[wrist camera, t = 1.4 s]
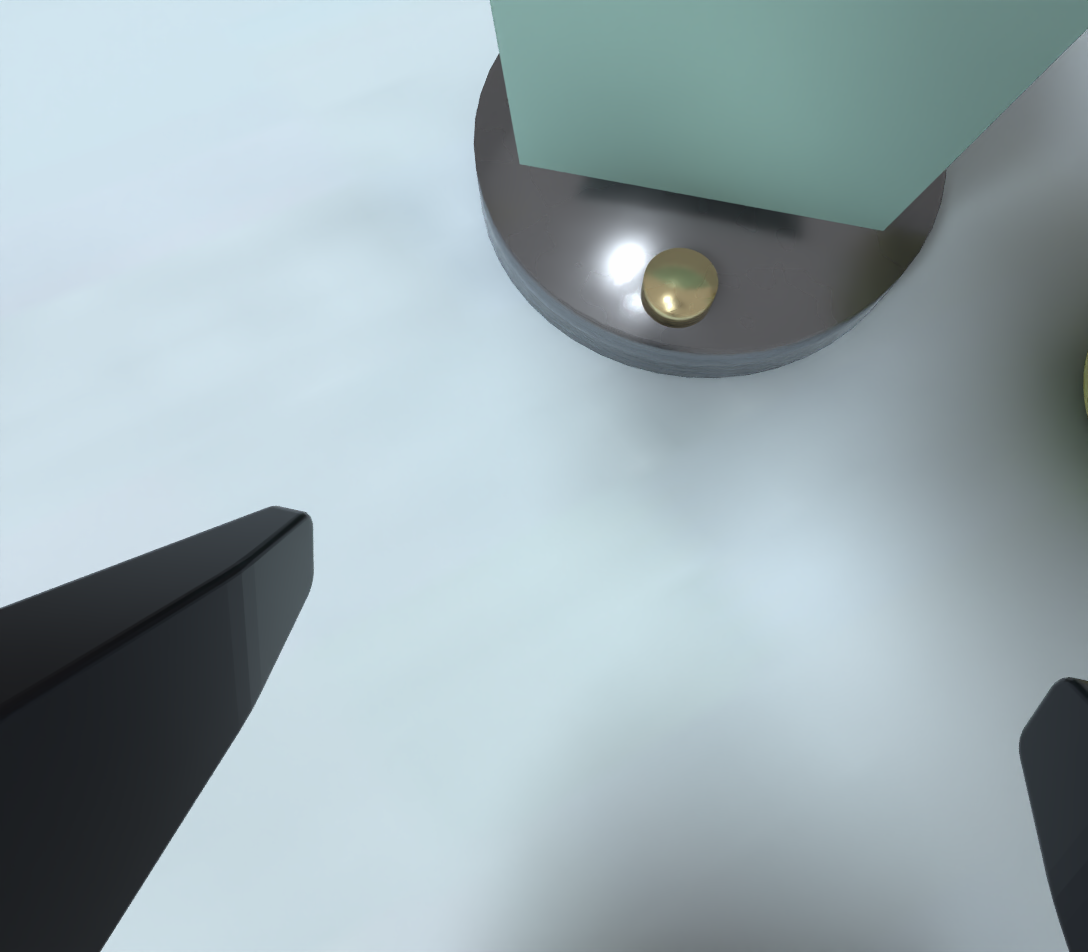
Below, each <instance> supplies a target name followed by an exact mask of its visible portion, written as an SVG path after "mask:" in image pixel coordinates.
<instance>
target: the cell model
mask: <svg viewBox="0 0 1088 952" xmlns="http://www.w3.org/2000/svg"><path fill="white" fill-rule="evenodd" d="M1083 389H1084V401H1085V408H1086V412H1087V417H1088V352H1087V356H1086V361H1085V367H1084V376H1083Z"/></svg>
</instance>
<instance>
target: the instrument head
mask: <svg viewBox="0 0 1088 952" xmlns="http://www.w3.org/2000/svg"><path fill="white" fill-rule="evenodd" d="M490 4H491V10H492V15H493V21H494V26H495V32H496V37H497V42H498V48H499V53H500V59H501V64H502V70H503V75H504V81H505V86H506V92H507V97H508V103H509V108H510V113H511V119H512V124H513V130H514V135H515V141H516V146H517V152H518V157H519V163H520V164H522V165H527V166H533V167H538V168H544V169H549V170H555V171H560V172H566V173H571V174H576V175H582V176H587V177H593V178H598V179H604V180H609V181H615V182H620V183H625V184H631V185H636V186H642V187H647V188H653V189H658V190H664V191H669V192H674V193H680V194H685V195H691V196H696V197H702V198H707V199H713V200H718V201H723V202H729V203H734V204H740V205H745V206H751V207H756V208H762V209H767V210H772V211H778V212H783V213H789V214H794V215H800V216H805V217H810V218H816V219H821V220H827V221H832V222H838V223H843V224H849V225H854V226H859V227H865V228H870V229H876V230H881V231H884V230H885V229H886V228H887V227H888V226H889V225H890V224H891V223H892V222H893V221H894V220H895V219H896V218H897V217H898V216H899V215H900V214H901V213H902V212H903V211H904V210H905V209H906V208H907V207H908V206H909V205H910V204H911V203H912V202H913V201H914V200H915V199H916V198H917V197H918V196H919V195H920V194H921V193H922V192H923V191H924V190H925V189H926V188H927V187H928V186H929V185H930V184H931V183H932V182H933V181H934V180H935V179H936V178H937V177H938V176H939V175H940V174H941V173H942V172H943V171H944V170H945V169H946V168H947V167H948V166H949V165H950V164H951V163H952V162H953V161H954V160H955V159H956V158H957V157H958V156H959V155H960V154H961V153H962V152H963V151H964V150H965V149H966V148H967V147H968V146H969V145H970V144H971V143H972V142H973V141H975V140H976V139H977V138H978V137H979V136H980V135H981V134H982V133H983V132H984V131H985V130H986V129H987V128H988V127H989V126H990V125H991V124H992V123H993V122H994V121H995V120H996V119H997V118H998V117H999V116H1000V115H1001V114H1002V113H1003V112H1004V111H1005V110H1006V109H1007V108H1008V107H1009V106H1010V105H1011V104H1012V103H1013V102H1014V101H1015V100H1016V99H1017V98H1018V97H1019V96H1020V95H1021V94H1022V93H1023V92H1024V91H1025V90H1026V89H1027V88H1028V87H1029V86H1030V85H1031V84H1032V83H1033V82H1034V81H1035V80H1036V79H1037V78H1038V77H1039V76H1040V75H1041V74H1042V73H1043V72H1044V71H1045V70H1046V69H1047V68H1048V67H1049V66H1050V65H1051V64H1052V63H1053V62H1054V61H1055V60H1056V59H1057V58H1058V57H1059V56H1060V55H1061V54H1062V53H1063V52H1064V51H1065V50H1066V49H1067V48H1068V47H1069V46H1070V45H1071V44H1072V43H1073V42H1074V41H1076V40H1077V39H1078V38H1079V37H1080V36H1081V35H1082V34H1083V33H1084V32H1085V31H1086V30H1087V29H1088V0H490Z"/></svg>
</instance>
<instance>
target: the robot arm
mask: <svg viewBox="0 0 1088 952" xmlns="http://www.w3.org/2000/svg"><path fill="white" fill-rule="evenodd" d="M313 574H314V562H313V523H312V519H311V517H310V516H309V515H308V514H307V513H306V512H303V511H298V510H294V509H289V508H285V507H280V506H271V507H268V508H265V509H262V510H260V511H257V512H254V513H252V514H249V515H246V516H244V517H241V518H238V519H236V520H233V521H230V522H228V523H225V524H222V525H220V526H217V527H214V528H212V529H209V530H207V531H204V532H201V533H199V534H196V535H193V536H191V537H188V538H185V539H183V540H180V541H177V542H175V543H172V544H169V545H167V546H164V547H161V548H159V549H156V550H153V551H151V552H148V553H145V554H143V555H140V556H137V557H135V558H132V559H130V560H127V561H124V562H122V563H119V564H116V565H114V566H111V567H108V568H106V569H103V570H100V571H98V572H95V573H92V574H90V575H87V576H84V577H82V578H79V579H76V580H74V581H71V582H68V583H66V584H63V585H60V586H58V587H55V588H52V589H50V590H47V591H44V592H42V593H39V594H36V595H34V596H31V597H28V598H26V599H23V600H20V601H18V602H15V603H13V604H10V605H7V606H5V607H2V608H0V952H100V951H101V950H102V948H103V947H104V945H105V943H106V942H107V940H108V939H109V937H110V936H111V934H112V932H113V931H114V929H115V928H116V926H117V924H118V923H119V921H120V920H121V918H122V917H123V915H124V913H125V912H126V910H127V909H128V907H129V905H130V904H131V902H132V901H133V899H134V898H135V896H136V894H137V893H138V891H139V890H140V888H141V886H142V885H143V883H144V882H145V880H146V879H147V877H148V875H149V874H150V872H151V871H152V869H153V867H154V866H155V864H156V863H157V861H158V860H159V858H160V856H161V855H162V853H163V852H164V850H165V848H166V847H167V845H168V844H169V842H170V841H171V839H172V837H173V836H174V834H175V833H176V831H177V829H178V828H179V826H180V825H181V823H182V822H183V820H184V818H185V817H186V815H187V814H188V812H189V810H190V809H191V807H192V806H193V804H194V803H195V801H196V799H197V798H198V796H199V795H200V793H201V791H202V790H203V788H204V787H205V785H206V784H207V782H208V780H209V779H210V777H211V776H212V774H213V772H214V771H215V769H216V768H217V766H218V765H219V763H220V761H221V760H222V758H223V757H224V755H225V753H226V752H227V750H228V749H229V747H230V746H231V744H232V742H233V741H234V739H235V738H236V736H237V734H238V733H239V731H240V730H241V728H242V726H243V725H244V723H245V721H246V720H247V718H248V716H249V715H250V713H251V711H252V709H253V707H254V705H255V703H256V702H257V700H258V698H259V696H260V694H261V692H262V690H263V688H264V686H265V684H266V681H267V679H268V677H269V675H270V673H271V671H272V669H273V667H274V665H275V663H276V661H277V659H278V657H279V655H280V653H281V650H282V648H283V646H284V644H285V642H286V640H287V638H288V636H289V634H290V632H291V630H292V628H293V626H294V624H295V621H296V619H297V617H298V615H299V613H300V611H301V609H302V607H303V605H304V603H305V601H306V599H307V597H308V594H309V592H310V589H311V586H312V582H313ZM1019 754H1020V760H1021V764H1022V768H1023V773H1024V777H1025V782H1026V786H1027V791H1028V795H1029V800H1030V804H1031V809H1032V813H1033V817H1034V822H1035V826H1036V831H1037V835H1038V840H1039V844H1040V849H1041V853H1042V858H1043V862H1044V866H1045V871H1046V875H1047V879H1048V883H1049V887H1050V891H1051V895H1052V899H1053V902H1054V906H1055V909H1056V912H1057V915H1058V919H1059V922H1060V925H1061V928H1062V931H1063V934H1064V937H1065V940H1066V943H1067V946H1068V949H1069V952H1088V681H1086V680H1081V679H1077V678H1072V677H1068V678H1062V679H1060V680H1059V681H1057V682H1055V683H1054V685H1053V686H1052V687H1051V689H1050V690H1049V692H1048V693H1047V695H1046V696H1045V698H1044V699H1043V701H1042V702H1041V704H1040V705H1039V706H1038V708H1037V709H1036V711H1035V712H1034V714H1033V715H1032V717H1031V718H1030V720H1029V721H1028V723H1027V724H1026V726H1025V727H1024V729H1023V731H1022V734H1021V737H1020V742H1019Z"/></svg>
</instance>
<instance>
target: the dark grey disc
mask: <svg viewBox="0 0 1088 952" xmlns="http://www.w3.org/2000/svg"><path fill="white" fill-rule="evenodd" d="M474 151H475V161H476V171H477V178H478V184H479V191H480V198H481V204H482V211H483V215H484V219H485V223H486V227H487V231H488V235H489V238H490V240H491V242H492V245H493V247H494V250H495V252H496V254H497V257H498V259H499V261H500V262H501V264H502V266H503V267H504V269H505V271H506V273H507V274H508V276H509V278H510V279H511V281H512V282H513V284H514V285H515V286H516V287H517V289H518V290H519V291H520V292H521V294H522V295H523V296H524V297H525V298H526V300H527V301H528V302H529V303H530V304H531V305H532V306H533V307H534V308H535V309H536V310H537V311H538V312H539V313H540V314H541V315H542V316H543V317H544V318H545V319H547V320H548V321H549V322H550V323H551V324H552V325H554V326H555V327H557V328H558V329H559V330H561V331H562V332H563V333H565V334H566V335H568V336H569V337H570V338H572V339H573V340H575V341H577V342H578V343H580V344H582V345H584V346H586V347H588V348H589V349H591V350H593V351H595V352H597V353H598V354H601V355H603V356H606V357H608V358H611V359H613V360H616V361H618V362H621V363H623V364H626V365H629V366H632V367H636V368H640V369H644V370H648V371H651V372H655V373H661V374H668V375H675V376H682V377H703V378H721V377H730V376H740V375H749V374H753V373H758V372H762V371H766V370H770V369H775V368H779V367H781V366H784V365H787V364H789V363H792V362H795V361H797V360H800V359H803V358H805V357H807V356H809V355H811V354H813V353H815V352H817V351H818V350H820V349H822V348H824V347H826V346H828V345H830V344H831V343H833V342H834V341H835V340H837V339H838V338H840V337H841V336H842V335H844V334H845V333H846V332H848V331H849V330H851V329H852V328H853V327H854V326H855V325H856V324H857V323H858V322H859V321H861V320H862V319H863V318H864V317H865V316H866V315H867V314H868V313H869V312H870V311H871V310H872V309H873V308H874V307H875V305H876V304H877V303H878V302H879V301H880V300H881V298H882V297H883V296H884V295H885V294H886V293H887V291H888V290H889V289H890V288H891V287H892V286H893V284H894V283H895V282H896V281H897V280H898V279H899V277H900V276H901V275H902V274H903V273H904V271H905V270H906V269H907V267H908V266H909V265H910V263H911V262H912V261H913V259H914V258H915V257H916V255H917V254H918V253H919V251H920V250H921V248H922V246H923V244H924V242H925V240H926V238H927V237H928V235H929V233H930V231H931V229H932V227H933V224H934V221H935V219H936V216H937V213H938V210H939V207H940V204H941V200H942V195H943V189H944V183H945V178H946V169H945V170H944V171H943V172H942V173H941V174H940V175H939V176H938V177H937V178H936V179H935V180H934V181H933V182H932V183H931V184H930V185H929V186H928V187H927V188H926V189H925V190H924V191H923V192H922V193H921V194H920V195H919V196H918V197H917V198H916V199H915V200H914V201H913V202H912V203H911V204H910V205H909V206H908V207H907V208H906V209H905V210H904V211H903V212H902V213H901V214H900V215H899V216H898V217H897V218H896V219H895V220H894V221H893V222H892V223H891V224H890V225H889V226H888V227H887V228H886V229H885V230H884V231H881V230H876V229H870V228H865V227H859V226H854V225H849V224H843V223H838V222H832V221H827V220H821V219H816V218H810V217H805V216H800V215H794V214H789V213H783V212H778V211H772V210H767V209H762V208H756V207H751V206H745V205H740V204H734V203H729V202H723V201H718V200H713V199H707V198H702V197H696V196H691V195H685V194H680V193H674V192H669V191H664V190H658V189H653V188H647V187H642V186H636V185H631V184H625V183H620V182H615V181H609V180H604V179H598V178H593V177H587V176H582V175H576V174H571V173H566V172H560V171H555V170H549V169H544V168H538V167H533V166H527V165H522V164H520V163H519V157H518V152H517V146H516V141H515V135H514V130H513V124H512V119H511V113H510V108H509V103H508V97H507V92H506V86H505V81H504V75H503V70H502V64H501V59H500V53H499V54H498V56H497V58H496V60H495V62H494V63H493V65H492V67H491V69H490V71H489V73H488V76H487V78H486V81H485V84H484V86H483V89H482V92H481V95H480V99H479V104H478V108H477V113H476V118H475V133H474Z"/></svg>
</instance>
